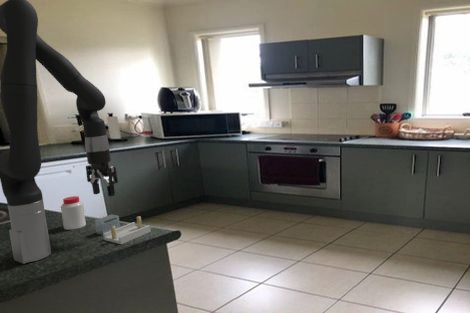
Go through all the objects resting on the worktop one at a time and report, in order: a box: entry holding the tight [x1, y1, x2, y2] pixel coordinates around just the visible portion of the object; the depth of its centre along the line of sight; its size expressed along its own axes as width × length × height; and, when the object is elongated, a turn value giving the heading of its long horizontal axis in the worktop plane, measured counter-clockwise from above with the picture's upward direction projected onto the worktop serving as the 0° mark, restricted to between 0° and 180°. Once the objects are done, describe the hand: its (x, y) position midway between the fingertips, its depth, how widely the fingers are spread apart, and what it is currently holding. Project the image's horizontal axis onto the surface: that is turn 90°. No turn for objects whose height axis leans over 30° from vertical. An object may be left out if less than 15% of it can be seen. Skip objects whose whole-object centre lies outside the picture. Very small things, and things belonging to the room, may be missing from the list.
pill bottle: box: [60, 195, 87, 231], centre depth 139 cm, size 8×8×11 cm
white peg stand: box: [102, 215, 152, 245], centre depth 124 cm, size 12×9×5 cm
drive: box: [94, 213, 121, 236], centre depth 130 cm, size 7×4×5 cm, turn 145°
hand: (104, 194), depth 129 cm, fingers open, 8 cm apart
